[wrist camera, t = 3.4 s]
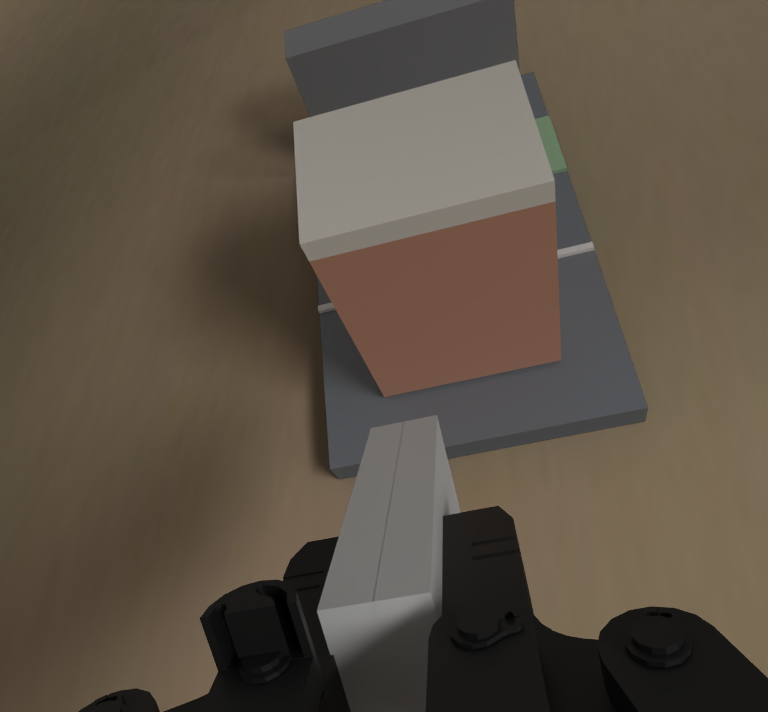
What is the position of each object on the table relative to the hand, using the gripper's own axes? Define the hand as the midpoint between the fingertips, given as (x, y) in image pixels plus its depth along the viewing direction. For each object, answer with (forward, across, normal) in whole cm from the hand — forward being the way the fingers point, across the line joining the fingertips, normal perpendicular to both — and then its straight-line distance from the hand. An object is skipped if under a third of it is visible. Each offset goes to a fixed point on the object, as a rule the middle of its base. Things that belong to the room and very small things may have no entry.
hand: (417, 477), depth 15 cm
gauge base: (+18, +1, +2) cm, 18 cm away
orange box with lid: (+13, +1, 0) cm, 13 cm away
